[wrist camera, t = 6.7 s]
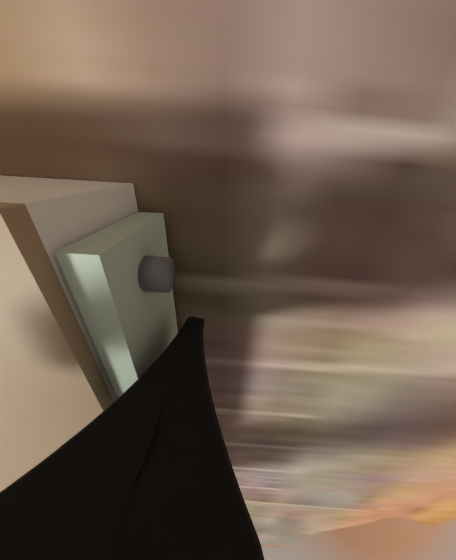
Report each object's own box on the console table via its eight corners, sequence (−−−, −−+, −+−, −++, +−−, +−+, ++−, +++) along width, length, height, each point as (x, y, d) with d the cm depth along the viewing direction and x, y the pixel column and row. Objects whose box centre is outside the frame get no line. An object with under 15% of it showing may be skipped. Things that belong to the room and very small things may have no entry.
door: (198, 432, 17) (188, 502, 14) (177, 430, 17) (161, 500, 14) (183, 214, 8) (135, 257, 4) (137, 211, 8) (52, 252, 4)
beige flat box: (176, 428, 18) (156, 512, 14) (46, 417, 18) (-13, 495, 14) (133, 183, 8) (-2, 209, 3) (-160, 166, 8) (-624, 170, 4)
